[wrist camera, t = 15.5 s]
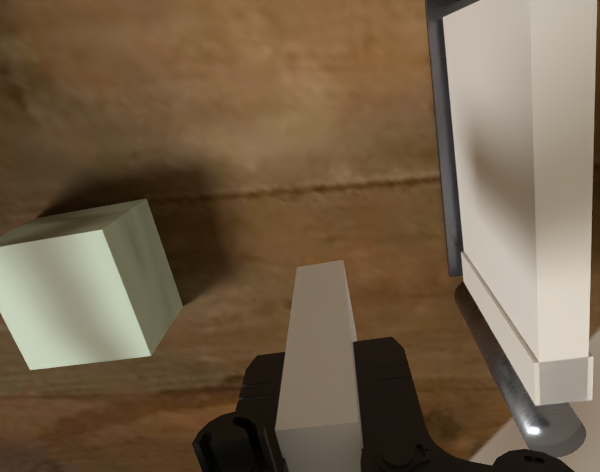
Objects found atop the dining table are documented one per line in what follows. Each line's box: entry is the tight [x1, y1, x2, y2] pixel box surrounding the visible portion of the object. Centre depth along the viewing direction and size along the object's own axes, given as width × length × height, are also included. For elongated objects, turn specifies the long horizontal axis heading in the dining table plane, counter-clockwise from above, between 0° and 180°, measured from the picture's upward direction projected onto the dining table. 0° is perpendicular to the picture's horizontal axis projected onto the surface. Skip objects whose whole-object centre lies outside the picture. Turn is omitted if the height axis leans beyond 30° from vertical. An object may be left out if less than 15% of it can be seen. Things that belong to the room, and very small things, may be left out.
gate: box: [443, 0, 597, 406], centre depth 16 cm, size 13×2×9 cm, turn 12°
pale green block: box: [0, 199, 183, 370], centre depth 23 cm, size 7×7×5 cm
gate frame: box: [425, 0, 586, 458], centre depth 16 cm, size 3×19×12 cm, turn 12°
